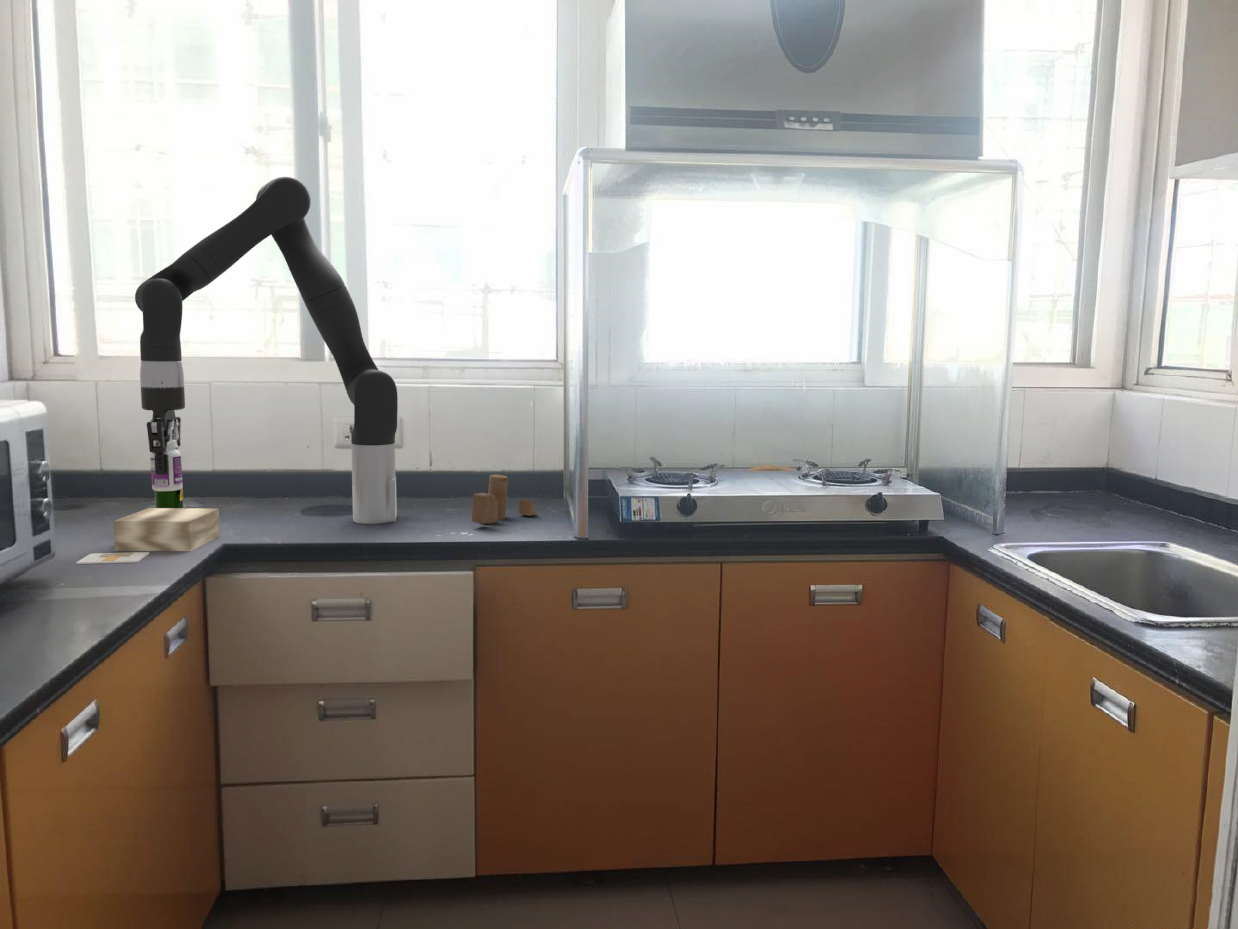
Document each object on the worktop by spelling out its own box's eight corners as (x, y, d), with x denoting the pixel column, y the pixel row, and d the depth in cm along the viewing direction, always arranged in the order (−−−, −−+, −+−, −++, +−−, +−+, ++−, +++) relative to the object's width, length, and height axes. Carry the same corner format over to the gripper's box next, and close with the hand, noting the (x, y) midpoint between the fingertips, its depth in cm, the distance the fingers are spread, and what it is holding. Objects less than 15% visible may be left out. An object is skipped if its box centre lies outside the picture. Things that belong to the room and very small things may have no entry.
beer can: (158, 531, 191) (155, 473, 190) (154, 526, 196) (152, 470, 194) (186, 528, 194) (183, 472, 193) (182, 524, 199) (180, 469, 197)
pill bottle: (174, 486, 183) (172, 438, 181) (187, 489, 179) (185, 440, 178) (146, 489, 178) (144, 440, 177) (159, 492, 175) (156, 442, 174)
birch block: (219, 537, 187) (218, 508, 187) (190, 552, 173) (189, 521, 173) (150, 537, 187) (148, 508, 186) (115, 552, 173) (113, 521, 172)
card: (149, 553, 171) (149, 551, 171) (137, 562, 164) (137, 560, 164) (90, 555, 169) (90, 553, 169) (76, 564, 162) (76, 561, 162)
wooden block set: (488, 533, 194) (492, 485, 193) (456, 525, 198) (459, 479, 197) (536, 521, 210) (540, 477, 209) (505, 515, 214) (509, 471, 213)
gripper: (173, 386, 170) (177, 477, 172) (193, 383, 184) (196, 467, 186) (129, 386, 168) (134, 477, 171) (152, 383, 182) (156, 467, 185)
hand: (166, 471), depth 178 cm, fingers closed on pill bottle, 5 cm apart
